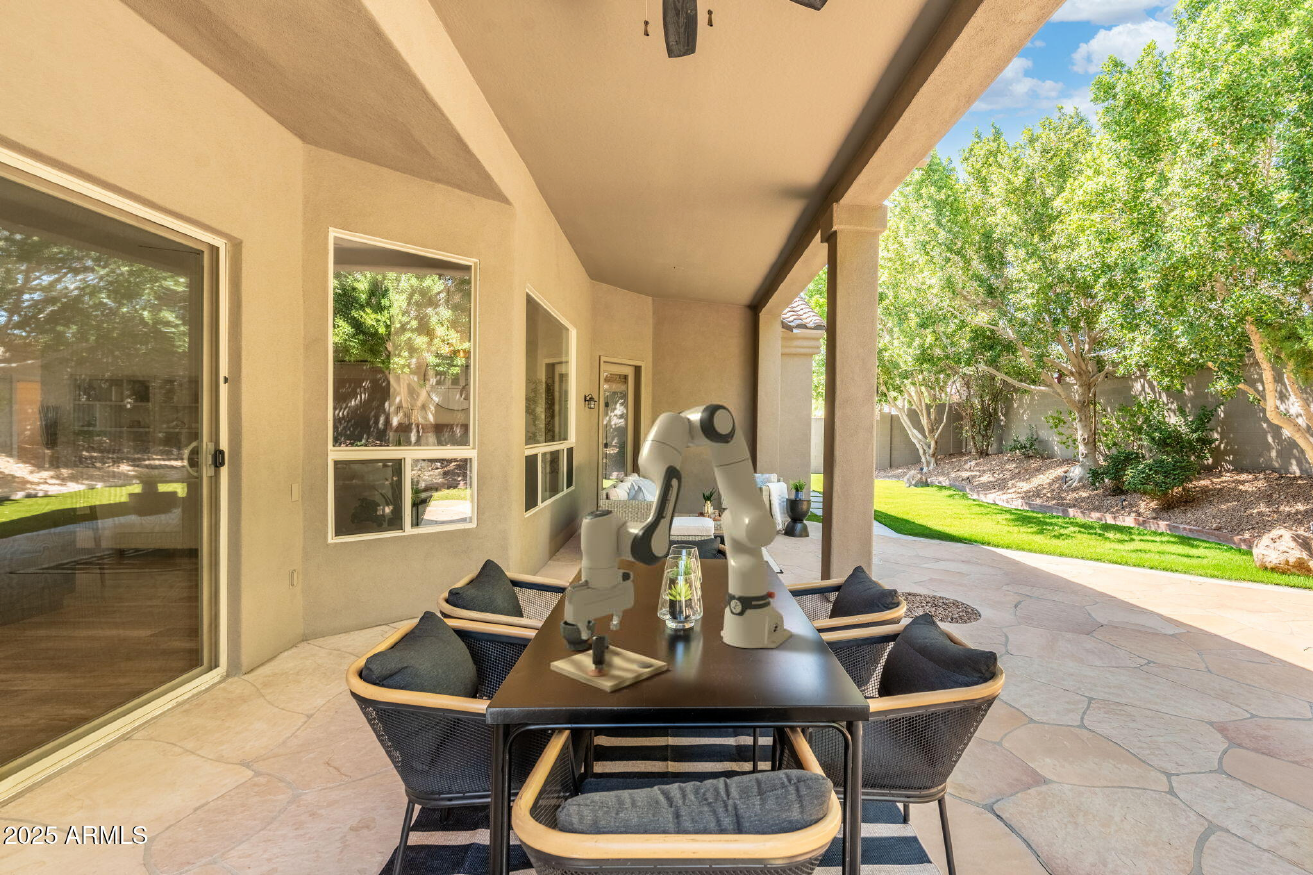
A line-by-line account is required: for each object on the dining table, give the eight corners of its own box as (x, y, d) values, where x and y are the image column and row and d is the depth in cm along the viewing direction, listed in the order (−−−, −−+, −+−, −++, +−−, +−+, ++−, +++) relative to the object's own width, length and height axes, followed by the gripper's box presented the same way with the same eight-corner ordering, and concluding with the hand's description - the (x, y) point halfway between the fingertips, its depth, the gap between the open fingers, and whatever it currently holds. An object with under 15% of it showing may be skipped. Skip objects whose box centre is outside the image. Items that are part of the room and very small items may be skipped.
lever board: (608, 650, 177) (608, 644, 177) (666, 669, 162) (666, 662, 162) (550, 669, 162) (550, 662, 162) (609, 692, 147) (609, 684, 147)
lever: (609, 645, 173) (609, 615, 173) (606, 671, 154) (606, 638, 154) (594, 645, 173) (594, 616, 173) (590, 671, 153) (590, 638, 153)
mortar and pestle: (556, 643, 182) (556, 602, 183) (587, 639, 186) (587, 598, 186) (567, 655, 172) (567, 611, 172) (600, 651, 176) (600, 607, 176)
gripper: (575, 586, 145) (576, 647, 145) (637, 571, 160) (638, 626, 160) (558, 583, 150) (559, 641, 150) (620, 568, 165) (621, 622, 165)
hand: (600, 633), depth 155 cm, fingers open, 8 cm apart
